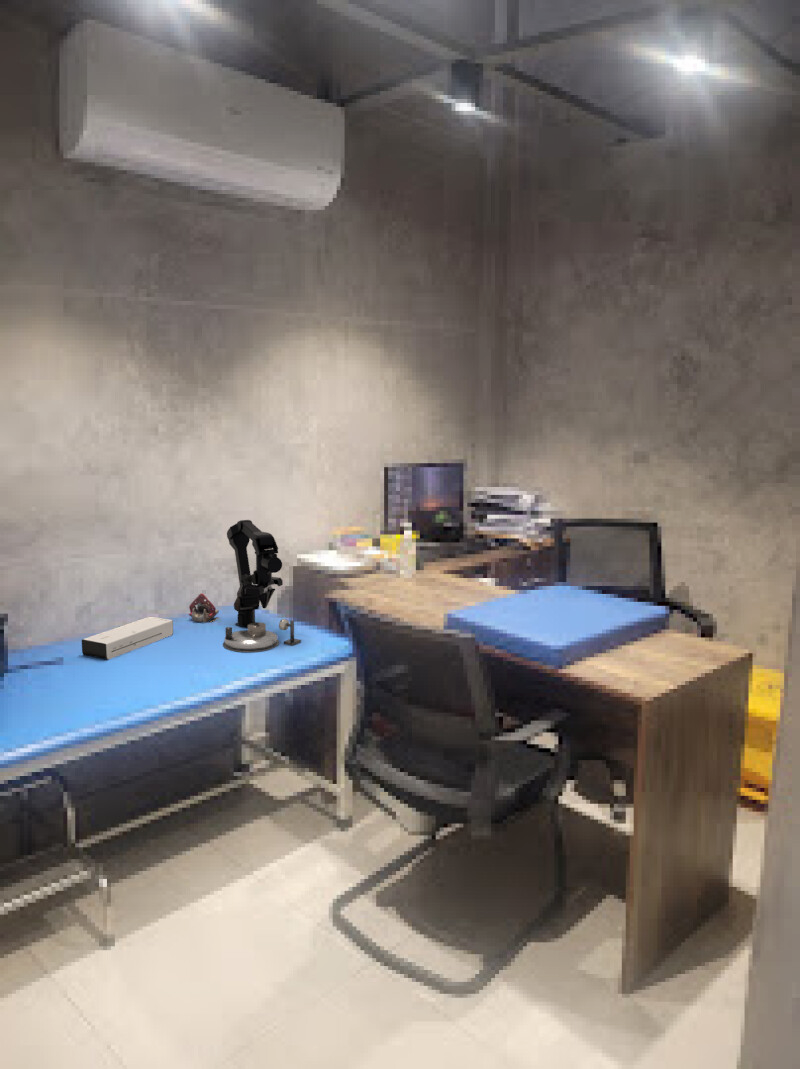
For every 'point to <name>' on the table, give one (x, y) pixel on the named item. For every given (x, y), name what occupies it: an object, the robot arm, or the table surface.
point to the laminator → (127, 637)
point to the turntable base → (251, 650)
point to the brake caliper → (202, 609)
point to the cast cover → (256, 629)
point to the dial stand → (284, 626)
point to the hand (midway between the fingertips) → (264, 608)
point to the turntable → (248, 640)
